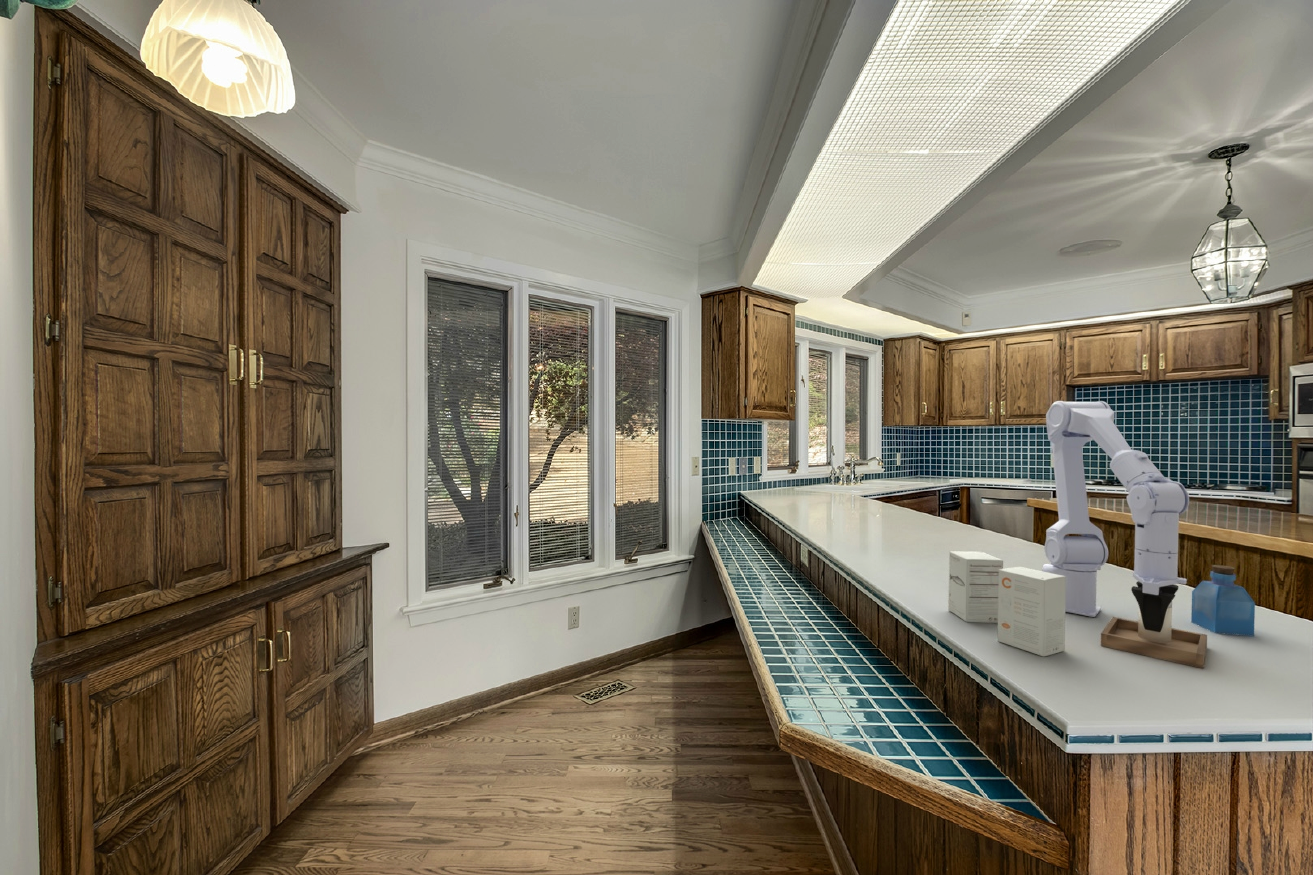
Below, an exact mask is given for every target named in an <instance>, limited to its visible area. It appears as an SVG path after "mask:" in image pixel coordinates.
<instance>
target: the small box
mask: <svg viewBox="0 0 1313 875" xmlns="http://www.w3.org/2000/svg"><path fill="white" fill-rule="evenodd" d="M1065 582H1066V579H1065V576H1062V575H1057V574H1053V573H1048V572H1043V571H1042V570H1037V569H1033V568H1029V567H1023V566H1014V567H1007V568H1005V567H1004V568H1003V569H999V583H998V623H997V642H999V643H1003V644H1005V645H1008V646H1011V647H1015V648H1016V649H1021V650H1023V651H1027V652H1029V653H1032V654H1034V655H1038V656H1041V657H1047V656H1051V655H1056V654H1057V653H1061V652H1064V651H1065V650H1066V612H1065Z"/></svg>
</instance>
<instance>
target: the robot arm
mask: <svg viewBox="0 0 1313 875" xmlns="http://www.w3.org/2000/svg"><path fill="white" fill-rule="evenodd" d="M1045 421H1046V432H1047V438H1048V439H1047V441H1049V442H1051V451H1052V460H1053V471H1054V484H1055V491H1056V494H1055V495H1056V503H1057V514H1058V521H1056V522H1055V523H1054V524H1052V525H1051V526H1050V527H1049V528H1047V529H1046V531H1045V532H1046V533H1045V534H1046V537H1045V543H1044V548H1043V549H1044V553H1045V554H1044V555H1045V557H1046V559H1047V560H1048V561H1049V563H1044V564H1043V566H1042V568H1041V571H1043V572H1048V573H1053V574H1057V575H1062V576H1065V579H1066V582H1065V613H1070V614H1077V615H1081V616H1087V617H1091V618H1094V617H1097V615H1098V613H1099V612H1100V611H1101V610H1102V606H1099V605H1098V606H1097V581H1098V579H1097V576H1098V571H1101V570H1102V566H1104V565H1106V563H1107V561H1108V558H1109V549H1108V546H1107V544H1106V541H1105V539H1104V534H1103V531H1102V529H1100V528H1099V527H1098V526H1096V525H1095V524H1094V523H1092V522H1091V521H1090V515H1089V506H1088V503H1089V502H1088V495H1087V486H1086V476H1085V466H1084V458H1083V448H1084V446H1085V445H1086V443H1089V442H1091V441H1093V442H1095V443H1096V444H1097V445H1098V446H1099V447H1100V448H1101V450H1103V452H1105V454H1106V455H1108V457H1109V458H1110V459H1111V461H1109V462H1110V463H1109V468H1110V470H1111V471H1112V472H1113V474H1114V475H1115V476H1116V478H1117V479H1118V481H1119V482H1120V483H1121V485H1122V486H1123V487H1124V488H1125V489H1126V491H1127V492H1128V494H1127V495H1126V501H1127V503H1126V504H1127V505H1128V507H1129V509H1130V512H1131V520H1132V522H1133V523H1135V524H1134V560H1133V561H1134V562H1133V563H1134V568H1133V572H1132V577H1133V579H1135V580H1137V581H1136V584H1135V585H1136V586H1133V585H1132V587H1131V590H1130V591H1131V593H1132V595H1133V597H1134V598H1135V600H1136V603H1137V605H1138V609H1139V608H1140V612H1141V617H1142V622H1143V625H1144V628H1145V630H1150V631H1155V632H1161V630H1162V627H1163V623H1164V619H1165V614H1166V611H1167V608H1168V606H1169V604H1170V603H1171V601H1172V602H1173V600H1174V599H1175V597H1176V593H1177V592H1178V590H1179V586H1178V585H1177V584H1180V585H1186V584H1187V583H1188V582H1187V581H1188V579H1187V578H1184V577H1178V568H1179V566H1178V564H1179V561H1178V560H1179V528H1180V527H1179V526H1180V521H1179V520H1180V519H1179V518H1180V515H1182V514H1183V513H1185V512H1186V511H1187V510H1188V508H1189V504H1190V496H1189V493H1188V491H1187V489H1186V488H1185V485H1183V484H1182V483H1181V482H1179V481H1173V480H1172V479H1170V478H1169V477H1165V476H1164V474H1162V472H1161V471H1160V470H1159V469H1158V468H1157V467H1156V466H1155V464H1154V463H1153V462H1152V460H1151V459H1149V456H1148V455H1147V453H1146V452H1143V451H1141V450H1136V449H1132V448H1131V447H1130V445H1129V444H1128V442H1127V441H1126V439H1125V438H1124V436H1123V434H1122V433H1121V432H1120V430H1119V428H1118V427H1117V426H1116V425H1115V422H1114V421H1115V411H1114V410H1113V409H1111V406H1110V405H1109V403H1107V402H1106V401H1103V400H1098V401H1064V400H1057V401H1054V402H1053V403H1052V404H1051V406H1050V407H1049V409H1048V411H1047V412H1046V414H1045ZM1071 534H1072V535H1074V536H1070V535H1071ZM1067 535H1068V536H1067ZM1075 535H1077V536H1075ZM1078 535H1081V536H1078Z"/></svg>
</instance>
